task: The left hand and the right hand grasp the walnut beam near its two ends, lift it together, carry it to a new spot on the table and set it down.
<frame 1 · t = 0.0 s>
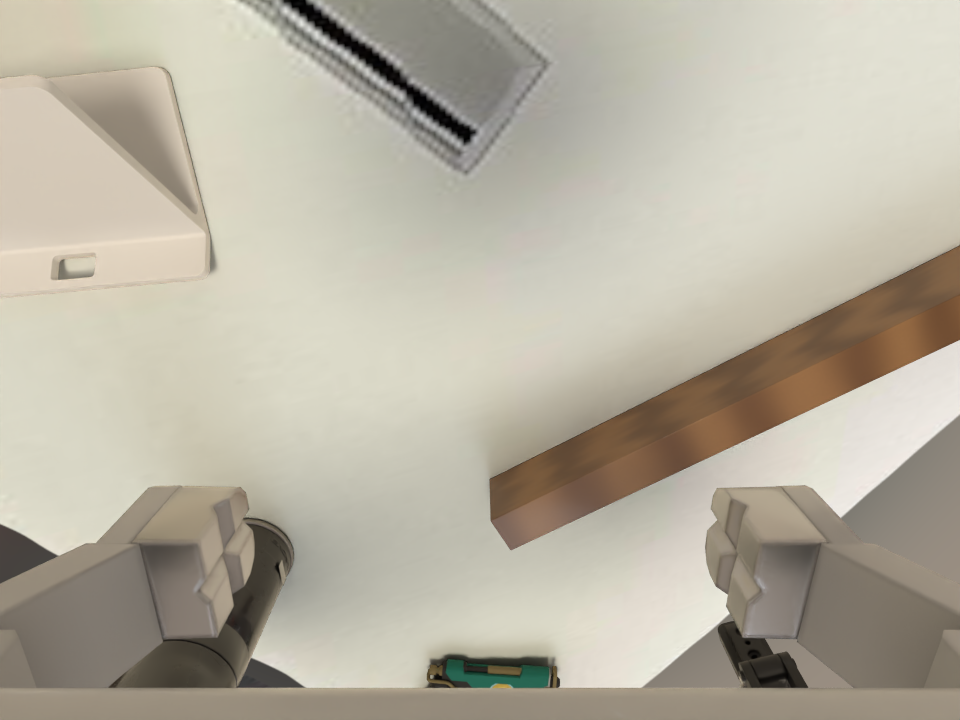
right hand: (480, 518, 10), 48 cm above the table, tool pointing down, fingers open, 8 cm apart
tablet stand: (63, 189, 55), on the table
spray gun: (487, 686, 77), on the table
beam: (725, 381, 62), on the table
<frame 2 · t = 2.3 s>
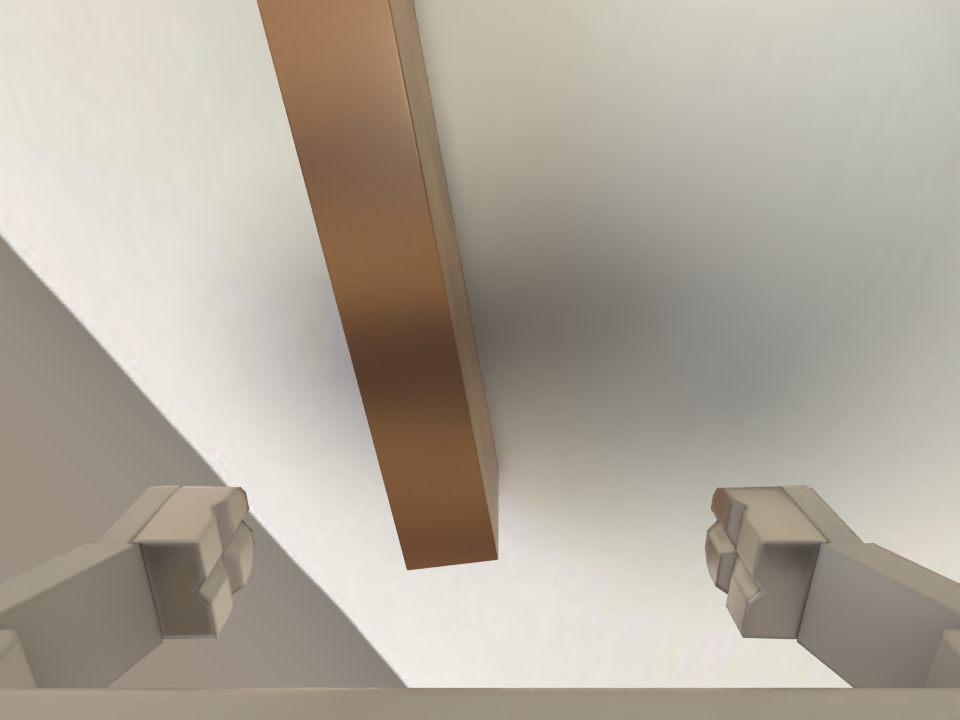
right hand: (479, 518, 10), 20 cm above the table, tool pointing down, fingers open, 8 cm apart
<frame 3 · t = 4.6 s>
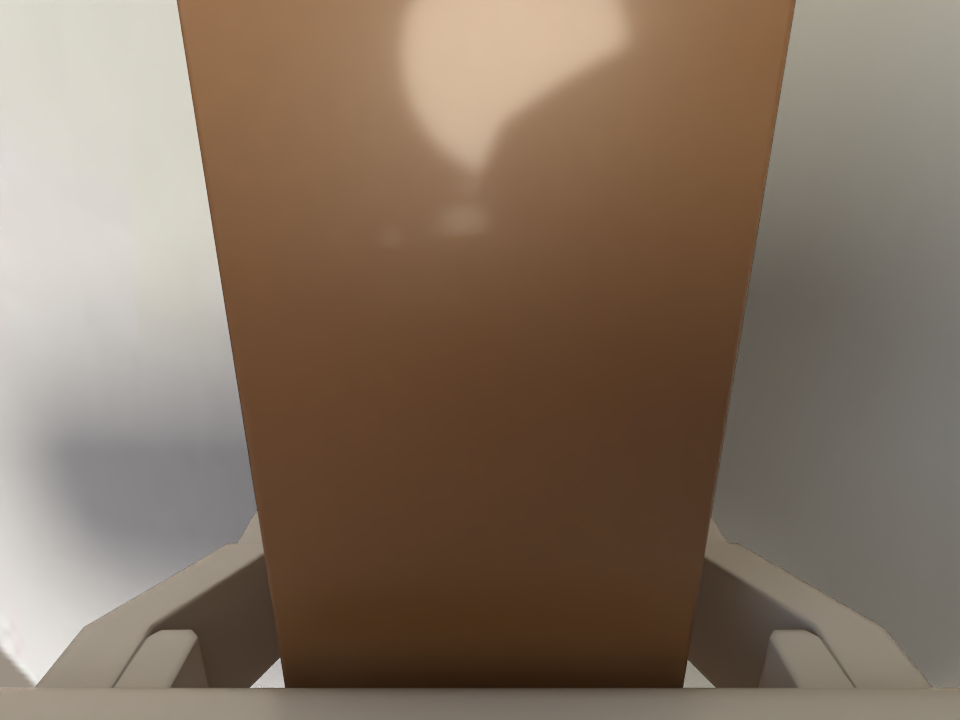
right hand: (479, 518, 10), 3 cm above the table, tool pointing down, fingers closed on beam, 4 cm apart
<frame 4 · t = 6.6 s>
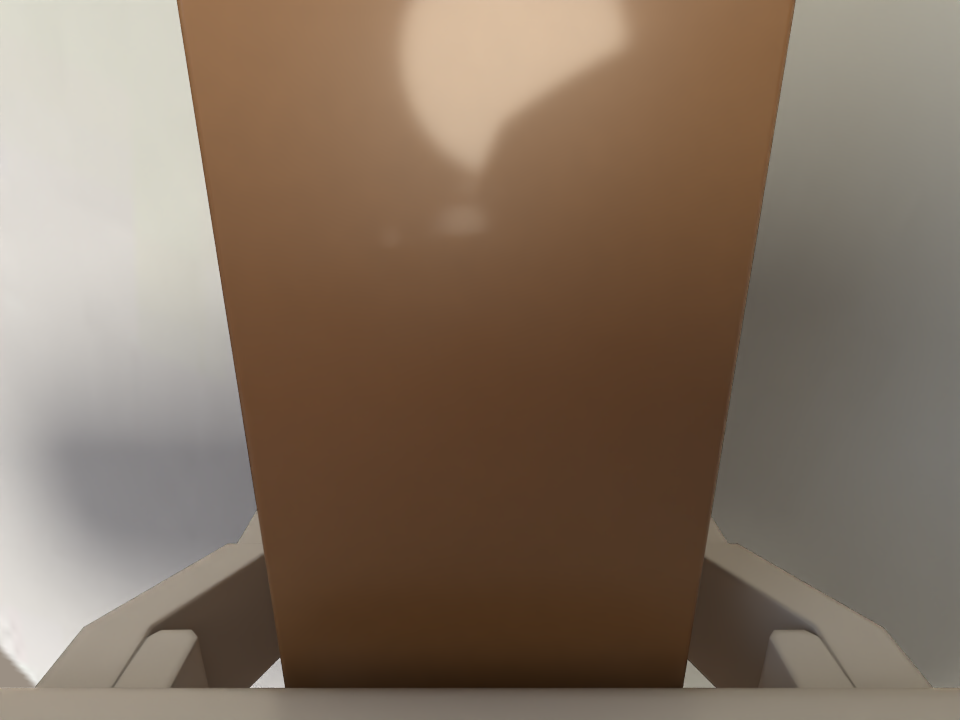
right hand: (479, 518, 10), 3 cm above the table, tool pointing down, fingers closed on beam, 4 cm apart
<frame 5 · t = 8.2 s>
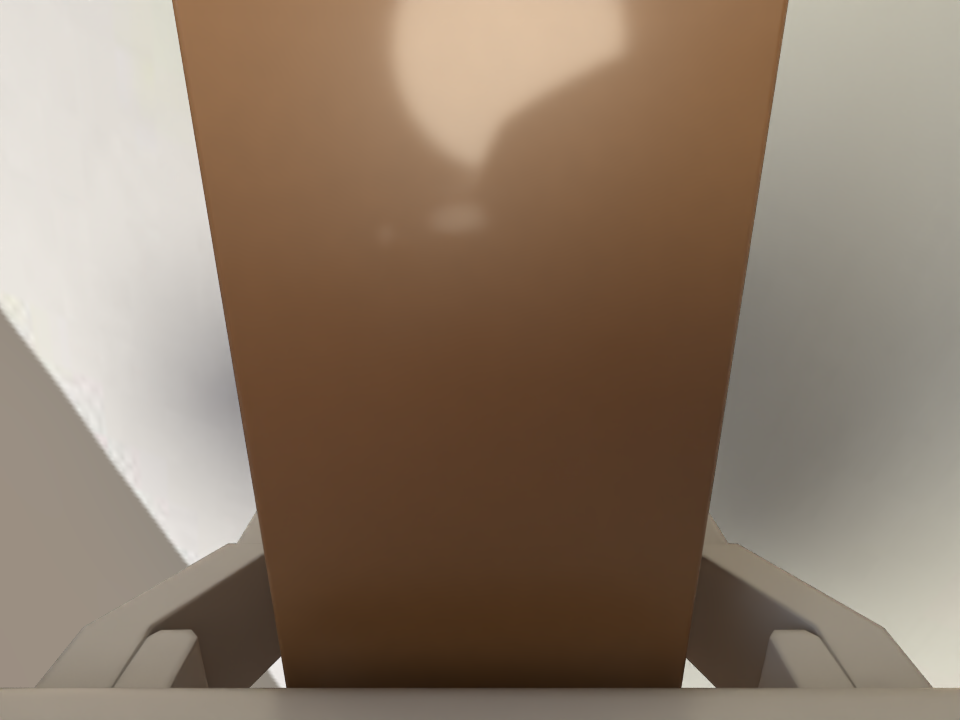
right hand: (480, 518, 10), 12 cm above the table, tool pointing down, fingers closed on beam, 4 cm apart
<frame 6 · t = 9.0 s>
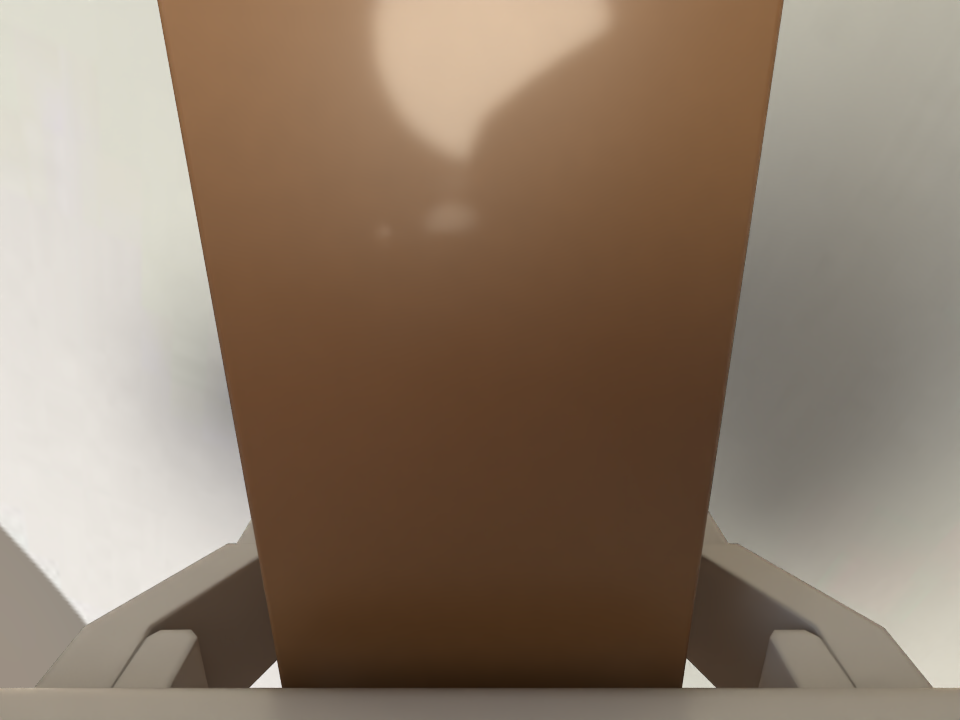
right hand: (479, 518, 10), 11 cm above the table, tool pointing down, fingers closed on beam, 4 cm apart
when the left hand's fingers open (5 cm above the table, at t = 11.8 s): beam drops 2 cm, on the table.
when the right hand's fingers open (5 cm above the table, at t = 11.8 s): beam drops 2 cm, on the table.
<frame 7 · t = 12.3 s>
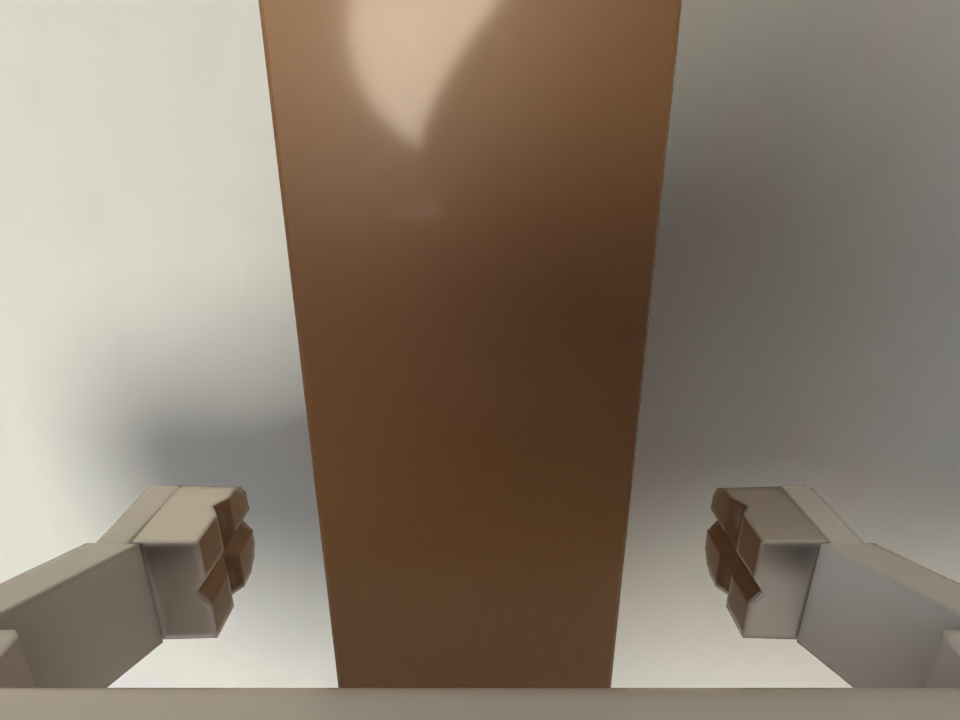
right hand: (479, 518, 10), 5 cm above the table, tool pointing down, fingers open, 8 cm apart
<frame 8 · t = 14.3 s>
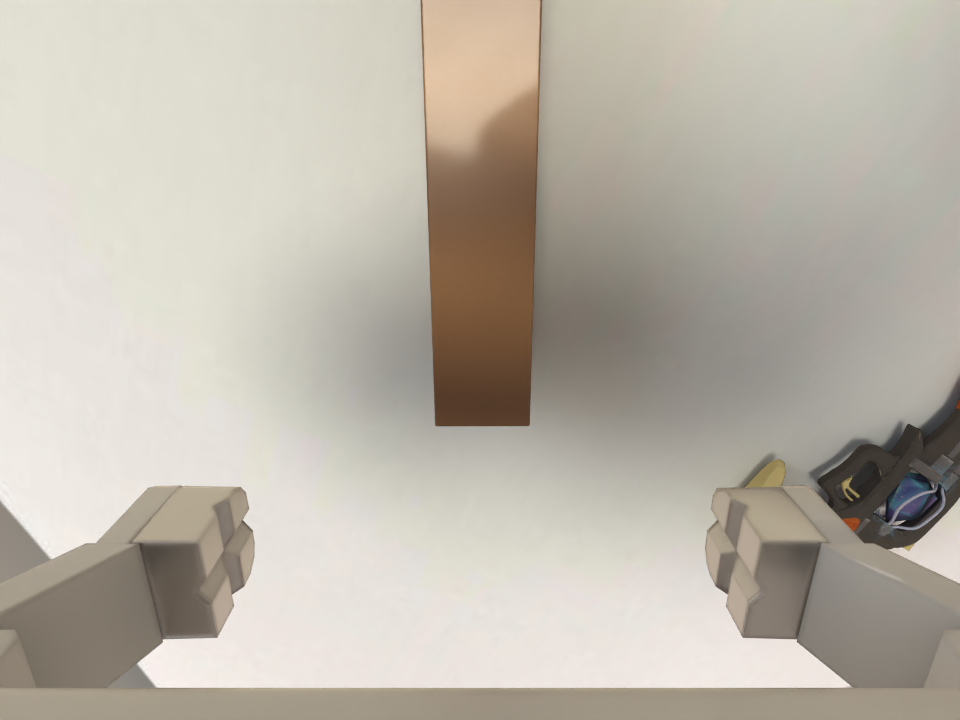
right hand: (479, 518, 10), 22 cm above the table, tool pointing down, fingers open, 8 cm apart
toy gun: (883, 438, 35), on the table
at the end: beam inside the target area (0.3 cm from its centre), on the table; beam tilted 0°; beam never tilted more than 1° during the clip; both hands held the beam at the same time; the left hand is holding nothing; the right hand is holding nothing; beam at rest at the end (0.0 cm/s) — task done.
